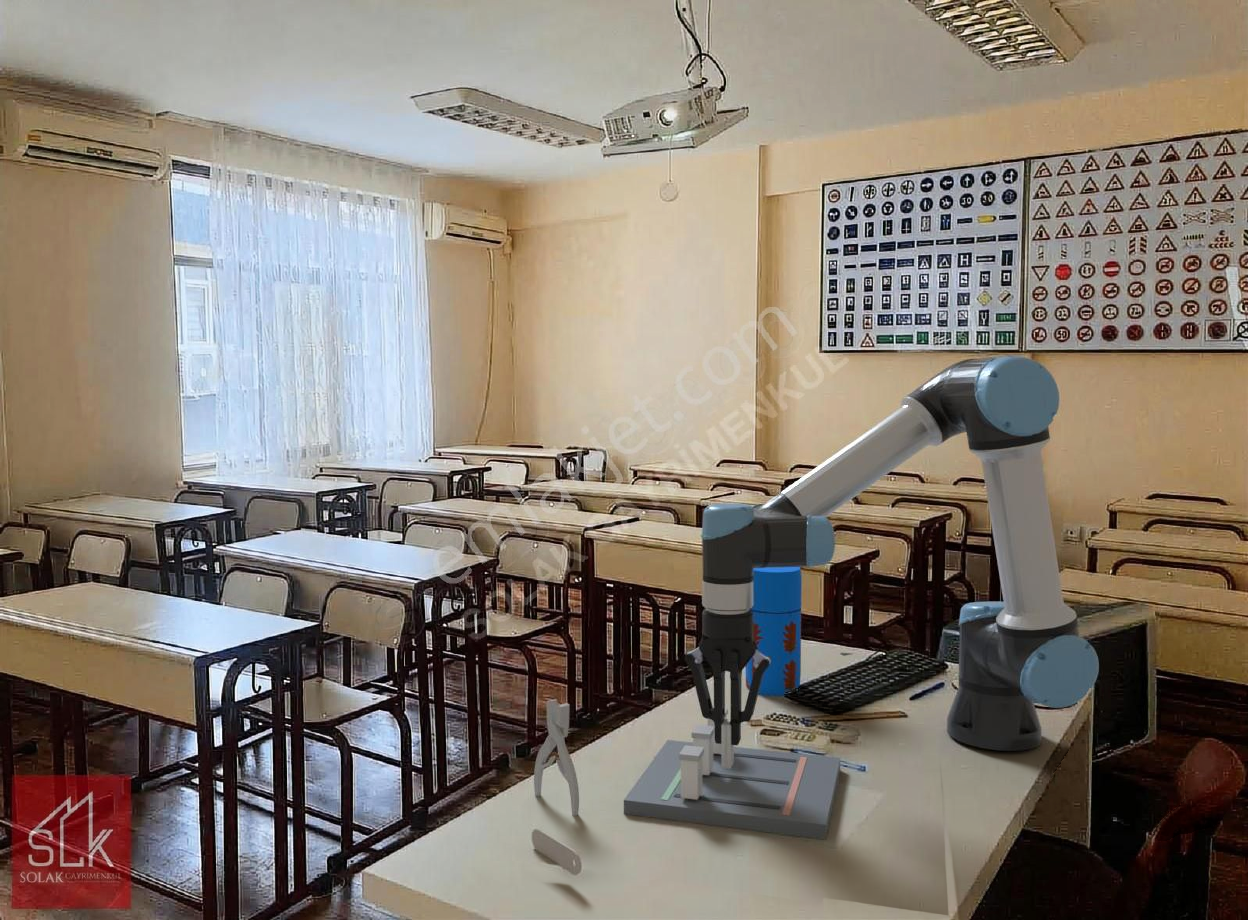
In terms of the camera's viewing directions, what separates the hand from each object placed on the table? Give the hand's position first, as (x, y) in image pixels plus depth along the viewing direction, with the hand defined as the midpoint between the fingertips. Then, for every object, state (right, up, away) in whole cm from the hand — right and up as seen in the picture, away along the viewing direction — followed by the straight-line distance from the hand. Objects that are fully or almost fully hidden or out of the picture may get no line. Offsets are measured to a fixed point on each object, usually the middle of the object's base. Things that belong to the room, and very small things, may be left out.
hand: (727, 764), depth 145 cm
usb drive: (+37, 0, +72) cm, 81 cm away
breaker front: (-6, -2, -7) cm, 10 cm away
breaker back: (-1, -1, +10) cm, 10 cm away
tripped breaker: (-4, -1, +1) cm, 4 cm away
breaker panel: (+2, -4, 0) cm, 4 cm away
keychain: (-24, -6, -22) cm, 33 cm away
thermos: (+14, -1, +48) cm, 50 cm away
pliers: (-25, -4, -5) cm, 26 cm away
